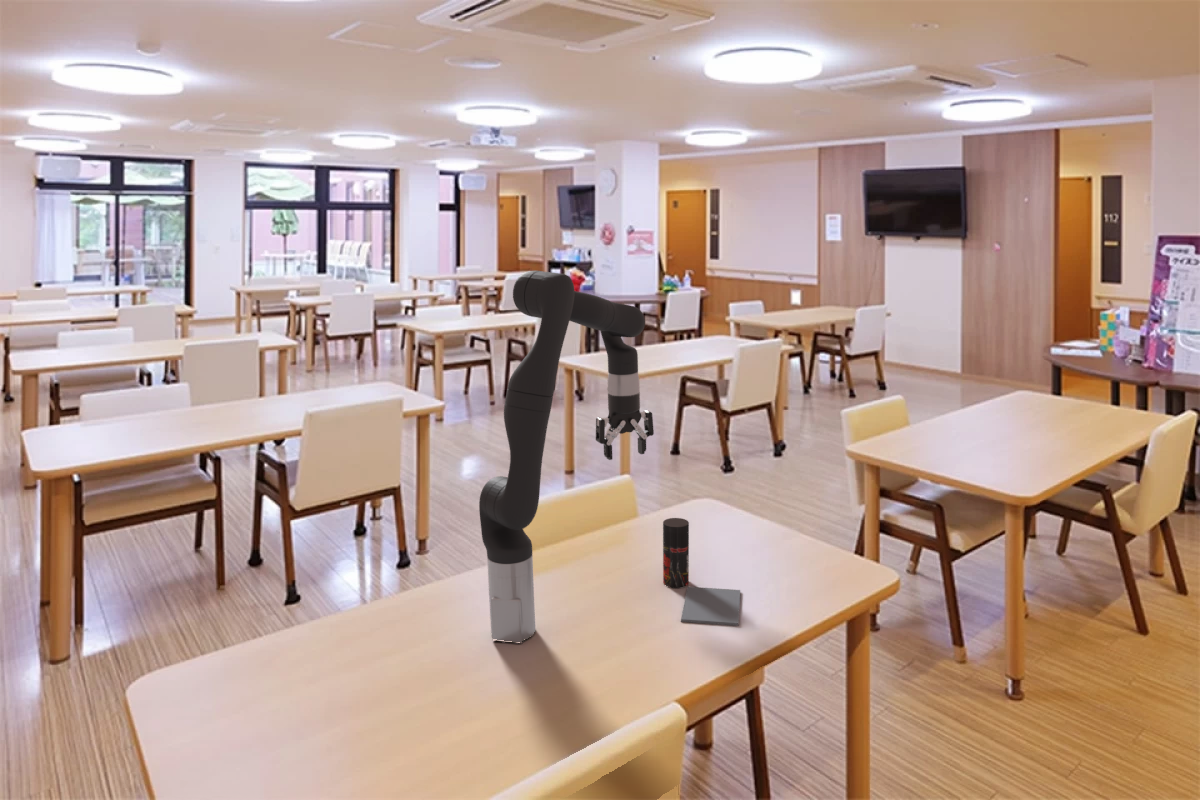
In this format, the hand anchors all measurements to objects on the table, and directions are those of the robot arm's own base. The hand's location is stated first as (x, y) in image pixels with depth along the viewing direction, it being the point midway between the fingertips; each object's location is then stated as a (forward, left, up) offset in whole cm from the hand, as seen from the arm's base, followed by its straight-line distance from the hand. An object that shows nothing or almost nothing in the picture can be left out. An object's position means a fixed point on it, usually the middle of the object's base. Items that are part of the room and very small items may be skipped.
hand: (625, 456), depth 201 cm
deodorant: (-8, -13, -28) cm, 32 cm away
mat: (-19, -22, -28) cm, 41 cm away
